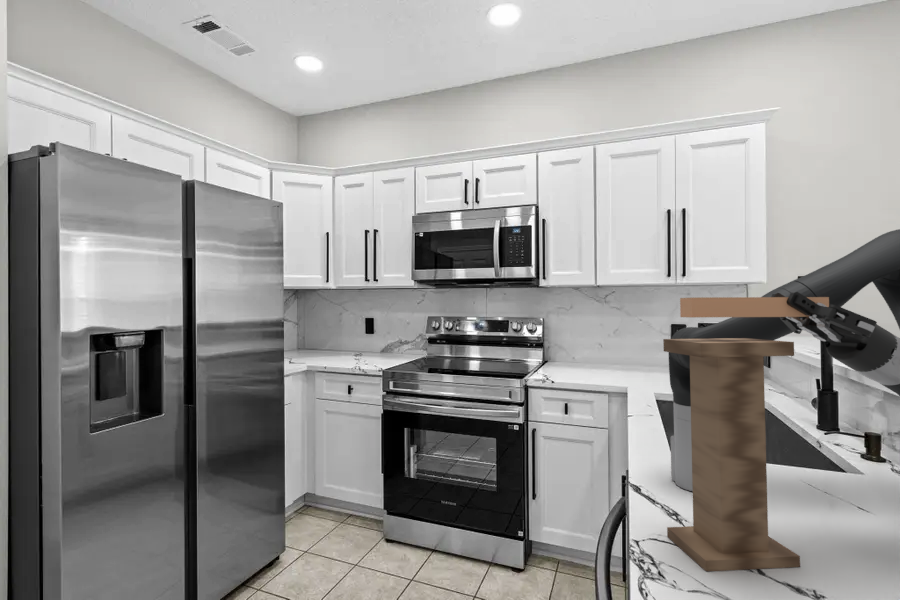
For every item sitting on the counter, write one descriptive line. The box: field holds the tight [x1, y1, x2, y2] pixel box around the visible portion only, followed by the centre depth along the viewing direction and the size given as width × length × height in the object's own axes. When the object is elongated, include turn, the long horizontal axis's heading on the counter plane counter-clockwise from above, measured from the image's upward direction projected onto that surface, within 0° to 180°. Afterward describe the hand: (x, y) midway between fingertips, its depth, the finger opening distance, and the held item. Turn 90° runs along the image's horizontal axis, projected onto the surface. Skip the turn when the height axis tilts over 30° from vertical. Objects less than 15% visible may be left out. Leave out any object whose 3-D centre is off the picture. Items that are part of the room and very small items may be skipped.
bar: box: [679, 296, 829, 318], centre depth 71 cm, size 22×3×3 cm, turn 94°
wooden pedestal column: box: [662, 338, 801, 572], centre depth 70 cm, size 14×10×32 cm
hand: (781, 297), depth 71 cm, fingers closed on bar, 3 cm apart
